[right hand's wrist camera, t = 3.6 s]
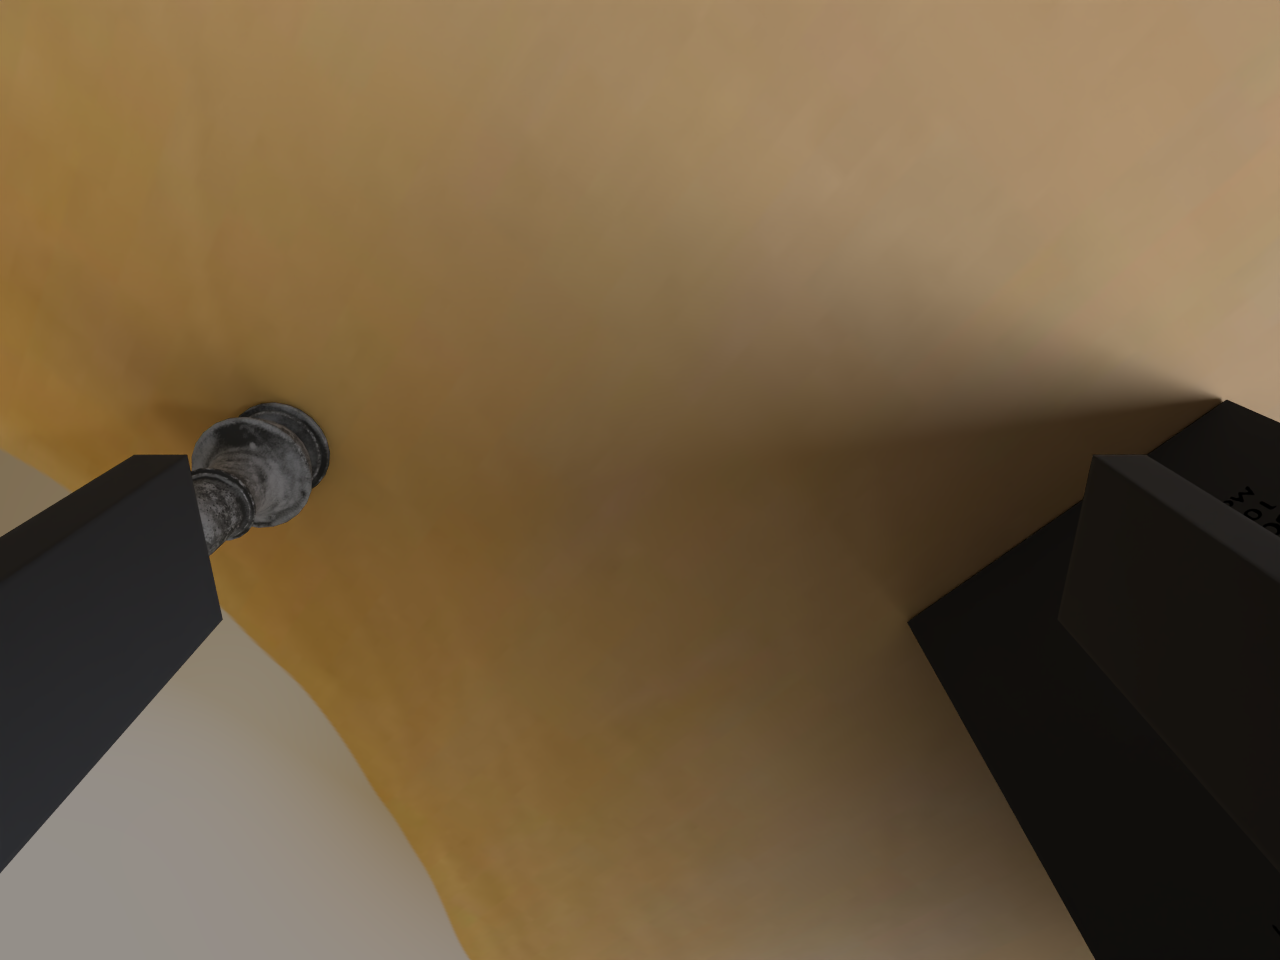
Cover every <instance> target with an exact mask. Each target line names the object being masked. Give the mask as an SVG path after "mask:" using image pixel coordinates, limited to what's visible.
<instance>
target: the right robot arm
mask: <svg viewBox="0 0 1280 960" xmlns="http://www.w3.org/2000/svg"><path fill="white" fill-rule="evenodd" d="M1057 620H1058V621H1059V622H1060V623H1061V624H1062V625H1063V626H1064V628H1065V629H1066V630H1067V631H1068V632H1069V633H1070V634H1071V636H1072V637H1073V638H1074V639H1075V640H1076V641H1077V642H1078V643H1079V645H1080V646H1081V647H1082V648H1083V649H1084V650H1085V651H1086V653H1087V654H1088V655H1089V656H1090V657H1091V658H1092V659H1093V661H1094V662H1095V663H1096V664H1097V665H1098V666H1099V667H1100V669H1101V670H1102V671H1103V672H1104V673H1105V674H1106V675H1107V677H1108V678H1109V679H1110V680H1111V681H1112V682H1113V683H1114V685H1115V686H1116V687H1117V688H1118V689H1119V690H1120V691H1121V693H1122V694H1123V695H1124V696H1125V697H1126V698H1127V699H1128V701H1129V702H1130V703H1131V704H1132V705H1133V706H1134V707H1135V709H1136V710H1137V711H1138V712H1139V713H1140V714H1141V715H1142V717H1143V718H1144V719H1145V720H1146V721H1147V722H1148V723H1149V724H1150V726H1151V727H1152V728H1153V729H1154V730H1155V731H1156V732H1157V734H1158V735H1159V736H1160V737H1161V738H1162V739H1163V740H1164V742H1165V743H1166V744H1167V745H1168V746H1169V747H1170V748H1171V750H1172V751H1173V752H1174V753H1175V754H1176V755H1177V756H1178V758H1179V759H1180V760H1181V761H1182V762H1183V763H1184V764H1185V766H1186V767H1187V768H1188V769H1189V770H1190V771H1191V772H1192V774H1193V775H1194V776H1195V777H1196V778H1197V779H1198V780H1199V782H1200V783H1201V784H1202V785H1203V786H1204V787H1205V788H1206V790H1207V791H1208V792H1209V793H1210V794H1211V795H1212V796H1213V797H1214V799H1215V800H1216V801H1217V802H1218V803H1219V804H1220V805H1221V807H1222V808H1223V809H1224V810H1225V811H1226V812H1227V813H1228V815H1229V816H1230V817H1231V818H1232V819H1233V820H1234V821H1235V823H1236V824H1237V825H1238V826H1239V827H1240V828H1241V829H1242V831H1243V832H1244V833H1245V834H1246V835H1247V836H1248V837H1249V839H1250V840H1251V841H1252V842H1253V843H1254V844H1255V845H1256V847H1257V848H1258V849H1259V850H1260V851H1261V852H1262V853H1263V855H1264V856H1265V857H1266V858H1267V859H1268V860H1269V861H1270V863H1271V864H1272V865H1273V866H1274V867H1275V868H1276V869H1277V870H1278V872H1279V873H1280V537H1278V536H1277V535H1275V534H1274V533H1272V532H1270V531H1269V530H1267V529H1265V528H1264V527H1262V526H1261V525H1259V524H1257V523H1256V522H1254V521H1252V520H1251V519H1249V518H1248V517H1246V516H1244V515H1243V514H1241V513H1239V512H1238V511H1236V510H1235V509H1233V508H1231V507H1230V506H1228V505H1226V504H1225V503H1223V502H1222V501H1220V500H1218V499H1217V498H1215V497H1213V496H1212V495H1210V494H1209V493H1207V492H1205V491H1204V490H1202V489H1200V488H1199V487H1197V486H1196V485H1194V484H1192V483H1191V482H1189V481H1187V480H1186V479H1184V478H1183V477H1181V476H1179V475H1178V474H1176V473H1174V472H1173V471H1171V470H1170V469H1168V468H1166V467H1165V466H1163V465H1162V464H1160V463H1158V462H1157V461H1155V460H1153V459H1152V458H1150V457H1149V456H1147V455H1093V457H1092V461H1091V466H1090V470H1089V475H1088V480H1087V484H1086V489H1085V494H1084V498H1083V503H1082V508H1081V512H1080V517H1079V521H1078V526H1077V531H1076V535H1075V540H1074V545H1073V549H1072V554H1071V559H1070V563H1069V568H1068V572H1067V577H1066V582H1065V586H1064V591H1063V596H1062V600H1061V605H1060V610H1059V614H1058V619H1057ZM221 621H222V614H221V610H220V605H219V600H218V596H217V591H216V586H215V582H214V577H213V573H212V568H211V563H210V559H209V554H208V549H207V545H206V540H205V535H204V531H203V526H202V521H201V517H200V512H199V508H198V503H197V498H196V494H195V489H194V484H193V480H192V475H191V470H190V466H189V461H188V457H187V455H133V456H131V457H130V458H128V459H127V460H125V461H123V462H122V463H120V464H118V465H117V466H115V467H114V468H112V469H110V470H109V471H107V472H105V473H104V474H102V475H101V476H99V477H97V478H96V479H94V480H93V481H91V482H89V483H88V484H86V485H84V486H83V487H81V488H80V489H78V490H76V491H75V492H73V493H71V494H70V495H68V496H67V497H65V498H63V499H62V500H60V501H58V502H57V503H55V504H54V505H52V506H50V507H49V508H47V509H45V510H44V511H42V512H41V513H39V514H37V515H36V516H34V517H32V518H31V519H29V520H28V521H26V522H24V523H23V524H21V525H19V526H18V527H16V528H15V529H13V530H11V531H10V532H8V533H6V534H5V535H3V536H2V537H0V873H1V872H2V870H3V869H4V868H5V867H6V866H7V865H8V864H9V862H10V861H11V860H12V859H13V858H14V857H15V856H16V854H17V853H18V852H19V851H20V850H21V849H22V848H23V847H24V845H25V844H26V843H27V842H28V841H29V840H30V839H31V837H32V836H33V835H34V834H35V833H36V832H37V831H38V829H39V828H40V827H41V826H42V825H43V824H44V823H45V821H46V820H47V819H48V818H49V817H50V816H51V815H52V813H53V812H54V811H55V810H56V809H57V808H58V807H59V805H60V804H61V803H62V802H63V801H64V800H65V799H66V797H67V796H68V795H69V794H70V793H71V792H72V791H73V790H74V788H75V787H76V786H77V785H78V784H79V783H80V782H81V780H82V779H83V778H84V777H85V776H86V775H87V774H88V772H89V771H90V770H91V769H92V768H93V767H94V766H95V764H96V763H97V762H98V761H99V760H100V759H101V757H102V756H103V755H104V754H105V753H106V752H107V751H108V750H109V748H110V747H111V746H112V745H113V744H114V743H115V742H116V740H117V739H118V738H119V737H120V736H121V735H122V733H123V732H124V731H125V730H126V729H127V728H128V727H129V726H130V724H131V723H132V722H133V721H134V720H135V719H136V718H137V716H138V715H139V714H140V713H141V712H142V711H143V710H144V709H145V707H146V706H147V705H148V704H149V703H150V702H151V700H152V699H153V698H154V697H155V696H156V695H157V694H158V692H159V691H160V690H161V689H162V688H163V687H164V686H165V685H166V683H167V682H168V681H169V680H170V679H171V678H172V677H173V675H174V674H175V673H176V672H177V671H178V670H179V669H180V667H181V666H182V665H183V664H184V663H185V662H186V661H187V659H188V658H189V657H190V656H191V655H192V654H193V653H194V651H195V650H196V649H197V648H198V647H199V646H200V645H201V643H202V642H203V641H204V640H205V639H206V638H207V637H208V635H209V634H210V633H211V632H212V631H213V630H214V629H215V628H216V626H217V625H218V624H219V623H220V622H221Z"/></svg>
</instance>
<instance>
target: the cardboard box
mask: <svg viewBox="0 0 1280 960" xmlns="http://www.w3.org/2000/svg"><path fill="white" fill-rule="evenodd" d="M1147 456H1149V457H1150V458H1152V459H1153V460H1155V461H1157V462H1158V463H1160V464H1162V465H1163V466H1165V467H1166V468H1168V469H1170V470H1171V471H1173V472H1174V473H1176V474H1178V475H1179V476H1181V477H1183V478H1184V479H1186V480H1187V481H1189V482H1191V483H1192V484H1194V485H1196V486H1197V487H1199V488H1200V489H1202V490H1204V491H1205V492H1207V493H1209V494H1210V495H1212V496H1213V497H1215V498H1217V499H1218V500H1220V501H1222V502H1223V503H1225V504H1226V505H1228V506H1230V507H1231V508H1233V509H1235V510H1236V511H1238V512H1239V513H1241V514H1243V515H1244V516H1246V517H1248V518H1249V519H1251V520H1252V521H1254V522H1256V523H1257V524H1259V525H1261V526H1262V527H1264V528H1265V529H1267V530H1269V531H1270V532H1272V533H1274V534H1275V535H1277V536H1278V537H1280V423H1279V422H1277V421H1275V420H1272V419H1270V418H1268V417H1265V416H1263V415H1261V414H1258V413H1256V412H1254V411H1252V410H1249V409H1247V408H1245V407H1242V406H1240V405H1238V404H1236V403H1233V402H1231V401H1229V400H1225V401H1224V402H1223V403H1221V404H1220V405H1218V406H1217V407H1215V408H1214V409H1213V410H1211V411H1210V412H1208V413H1207V414H1205V415H1204V416H1202V417H1201V418H1200V419H1198V420H1197V421H1195V422H1194V423H1192V424H1191V425H1190V426H1188V427H1187V428H1185V429H1184V430H1182V431H1181V432H1180V433H1178V434H1177V435H1175V436H1174V437H1172V438H1171V439H1169V440H1168V441H1167V442H1165V443H1164V444H1162V445H1161V446H1159V447H1158V448H1157V449H1155V450H1154V451H1152V452H1151V453H1149V454H1148V455H1147ZM1082 503H1083V500H1082V501H1080V502H1079V503H1078V504H1076V505H1075V506H1073V507H1072V508H1070V509H1069V510H1068V511H1066V512H1065V513H1063V514H1062V515H1060V516H1059V517H1057V518H1056V519H1055V520H1053V521H1052V522H1050V523H1049V524H1047V525H1046V526H1045V527H1043V528H1042V529H1040V530H1039V531H1037V532H1036V533H1034V534H1033V535H1032V536H1030V537H1029V538H1027V539H1026V540H1024V541H1023V542H1022V543H1020V544H1019V545H1017V546H1016V547H1014V548H1013V549H1012V550H1010V551H1009V552H1007V553H1006V554H1004V555H1003V556H1001V557H1000V558H999V559H997V560H996V561H994V562H993V563H991V564H990V565H989V566H987V567H986V568H984V569H983V570H981V571H980V572H978V573H977V574H976V575H974V576H973V577H971V578H970V579H968V580H967V581H966V582H964V583H963V584H961V585H960V586H958V587H957V588H956V589H954V590H953V591H951V592H950V593H948V594H947V595H945V596H944V597H943V598H941V599H940V600H938V601H937V602H935V603H934V604H933V605H931V606H930V607H928V608H927V609H925V610H924V611H922V612H921V613H920V614H918V615H917V616H915V617H914V618H912V619H911V620H910V621H908V622H907V623H908V625H909V626H910V628H911V630H912V632H913V634H914V635H915V637H916V639H917V641H918V643H919V644H920V646H921V648H922V650H923V652H924V653H925V655H926V657H927V659H928V661H929V662H930V664H931V666H932V668H933V669H934V671H935V673H936V675H937V677H938V678H939V680H940V682H941V684H942V686H943V687H944V689H945V691H946V693H947V695H948V696H949V698H950V700H951V702H952V704H953V705H954V707H955V709H956V711H957V712H958V714H959V716H960V718H961V720H962V721H963V723H964V725H965V727H966V729H967V730H968V732H969V734H970V736H971V738H972V739H973V741H974V743H975V745H976V747H977V748H978V750H979V752H980V754H981V756H982V757H983V759H984V761H985V763H986V764H987V766H988V768H989V770H990V772H991V773H992V775H993V777H994V779H995V781H996V782H997V784H998V786H999V788H1000V790H1001V791H1002V793H1003V795H1004V797H1005V799H1006V800H1007V802H1008V804H1009V806H1010V808H1011V809H1012V811H1013V813H1014V815H1015V816H1016V818H1017V820H1018V822H1019V824H1020V825H1021V827H1022V829H1023V831H1024V833H1025V834H1026V836H1027V838H1028V840H1029V842H1030V843H1031V845H1032V847H1033V849H1034V851H1035V852H1036V854H1037V856H1038V858H1039V860H1040V861H1041V863H1042V865H1043V867H1044V868H1045V870H1046V872H1047V874H1048V876H1049V877H1050V879H1051V881H1052V883H1053V885H1054V886H1055V888H1056V890H1057V892H1058V894H1059V895H1060V897H1061V899H1062V901H1063V903H1064V904H1065V906H1066V908H1067V910H1068V911H1069V913H1070V915H1071V917H1072V919H1073V920H1074V922H1075V924H1076V926H1077V928H1078V929H1079V931H1080V933H1081V935H1082V937H1083V938H1084V940H1085V942H1086V944H1087V946H1088V947H1089V949H1090V951H1091V953H1092V955H1093V956H1094V958H1095V960H1280V873H1279V872H1278V870H1277V869H1276V868H1275V867H1274V866H1273V865H1272V864H1271V863H1270V861H1269V860H1268V859H1267V858H1266V857H1265V856H1264V855H1263V853H1262V852H1261V851H1260V850H1259V849H1258V848H1257V847H1256V845H1255V844H1254V843H1253V842H1252V841H1251V840H1250V839H1249V837H1248V836H1247V835H1246V834H1245V833H1244V832H1243V831H1242V829H1241V828H1240V827H1239V826H1238V825H1237V824H1236V823H1235V821H1234V820H1233V819H1232V818H1231V817H1230V816H1229V815H1228V813H1227V812H1226V811H1225V810H1224V809H1223V808H1222V807H1221V805H1220V804H1219V803H1218V802H1217V801H1216V800H1215V799H1214V797H1213V796H1212V795H1211V794H1210V793H1209V792H1208V791H1207V790H1206V788H1205V787H1204V786H1203V785H1202V784H1201V783H1200V782H1199V780H1198V779H1197V778H1196V777H1195V776H1194V775H1193V774H1192V772H1191V771H1190V770H1189V769H1188V768H1187V767H1186V766H1185V764H1184V763H1183V762H1182V761H1181V760H1180V759H1179V758H1178V756H1177V755H1176V754H1175V753H1174V752H1173V751H1172V750H1171V748H1170V747H1169V746H1168V745H1167V744H1166V743H1165V742H1164V740H1163V739H1162V738H1161V737H1160V736H1159V735H1158V734H1157V732H1156V731H1155V730H1154V729H1153V728H1152V727H1151V726H1150V724H1149V723H1148V722H1147V721H1146V720H1145V719H1144V718H1143V717H1142V715H1141V714H1140V713H1139V712H1138V711H1137V710H1136V709H1135V707H1134V706H1133V705H1132V704H1131V703H1130V702H1129V701H1128V699H1127V698H1126V697H1125V696H1124V695H1123V694H1122V693H1121V691H1120V690H1119V689H1118V688H1117V687H1116V686H1115V685H1114V683H1113V682H1112V681H1111V680H1110V679H1109V678H1108V677H1107V675H1106V674H1105V673H1104V672H1103V671H1102V670H1101V669H1100V667H1099V666H1098V665H1097V664H1096V663H1095V662H1094V661H1093V659H1092V658H1091V657H1090V656H1089V655H1088V654H1087V653H1086V651H1085V650H1084V649H1083V648H1082V647H1081V646H1080V645H1079V643H1078V642H1077V641H1076V640H1075V639H1074V638H1073V637H1072V636H1071V634H1070V633H1069V632H1068V631H1067V630H1066V629H1065V628H1064V626H1063V625H1062V624H1061V623H1060V622H1059V621H1058V620H1057V619H1058V614H1059V610H1060V605H1061V600H1062V596H1063V591H1064V586H1065V582H1066V577H1067V572H1068V568H1069V563H1070V559H1071V554H1072V549H1073V545H1074V540H1075V535H1076V531H1077V526H1078V521H1079V517H1080V512H1081V508H1082Z"/></svg>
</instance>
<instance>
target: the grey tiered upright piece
mask: <svg viewBox="0 0 1280 960" xmlns="http://www.w3.org/2000/svg"><path fill="white" fill-rule="evenodd" d="M329 457H330V451H329V447H328V443H327V439H326V437H325V435H324V434H323V432H322V430H321V428H320V427H319V426H318V425H317V424H316V422H315V421H314V420H313V419H312V418H311V417H309V416H308V415H307V414H305V413H304V412H303V411H301V410H299V409H297V408H294V407H292V406H290V405H286V404H281V403H275V402H274V403H262V404H259V405H256V406H253V407H251V408H249V409H248V410H246V411H245V412H244V413H242V414H241V415H240V416H239V417H238V418H229V419H226V420H223V421H221V422H218V423H215V424H214V425H213V426H211V427H210V428H209V429H207V430H206V431H205V432H203V434H202V435H201V437H200V438H199V440H198V441H197V442H196V444H195V448H194V451H193V454H192V471H191V475H192V480H193V484H194V489H195V494H196V498H197V503H198V508H199V512H200V517H201V521H202V526H203V531H204V535H205V540H206V545H207V549H208V554H209V555H211V554H212V553H213V552H214V551H215V550H216V549H218V548H219V547H220V546H221V545H222V544H223V543H224V542H225V541H226V540H233V539H236V538H239V537H241V536H242V535H244V534H245V533H247V532H248V531H249V529H250V528H251V527H258V528H261V527H274V526H277V525H280V524H282V523H285V522H288V521H289V520H290V519H292V518H293V517H295V516H296V515H298V514H299V512H300V511H301V510H302V509H303V507H304V506H305V505H306V503H307V501H308V498H309V495H310V493H311V489H312V488H314V487H315V486H316V485H318V484H319V482H320V481H321V480H322V478H323V477H324V476H325V474H326V471H327V469H328V466H329Z"/></svg>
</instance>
